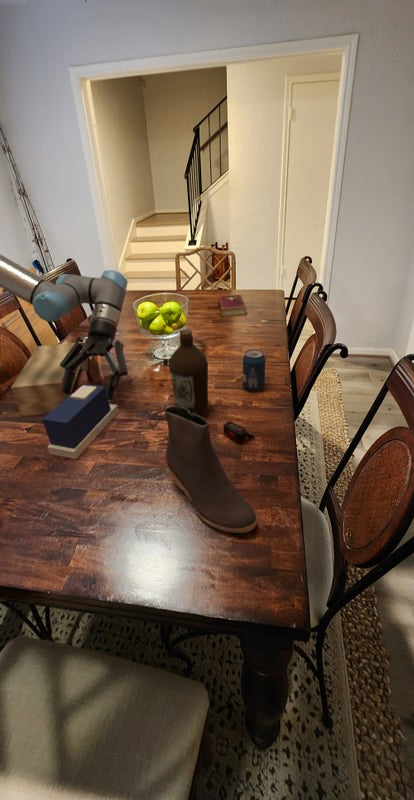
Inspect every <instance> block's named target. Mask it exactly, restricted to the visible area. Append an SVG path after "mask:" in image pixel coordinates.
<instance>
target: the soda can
mask: <svg viewBox="0 0 414 800" xmlns="http://www.w3.org/2000/svg"><path fill="white" fill-rule="evenodd" d="M265 379H266V357H265V354H264V352H263V351H262V350H260V349H248V350H246V351H244V355H243V357H242V386H243V387H244V388H245V390H246V391H248V392H254V393H255V392H259V391H261V390H262V389H263V388H264V386H265V384H266V381H265Z"/></svg>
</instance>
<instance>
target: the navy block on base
mask: <svg viewBox="0 0 414 800" xmlns="http://www.w3.org/2000/svg"><path fill="white" fill-rule="evenodd" d="M106 390H107V387H106V385H99V384H98V385H90V384H88V383H82V384H81V385H80V386H79V387H78V388H76V390H74V391H72V392H71V395H70V396H68V397H67V398H66V399H65V400H64V401H63V402H61V403H60V404H59V405H58V406H57V407H56V408H54V409H53V410H52V411H51V412H50V413H46V414H45V416H44V417H42V418H41V419H42V420H41V421H42V423H43V426H44V429H45V432H46V434H47V437H48V440H49V444H48V446H46V448H47V451H48V454H49V455H52V456H57V457H62V458H66V459H73V460H77V459H78V458H79V457H80V456H81V454H82V453H83V452H84V451H85V450H86V449H87V448H88V447H89V446H90V444H92V443H93V441H94V440H95V439H96V438H97V437H98V436H99V435H100V433H101V432H102V431H103V430H104V429H105V428H106V426H108V424H110V423H111V421H112V420H113V419H114V418H115V417H116V416H117V415H118V414H119V412H120V411H119V406H118V404H113V403H110V400H109V399H107V398H105V395H106Z"/></svg>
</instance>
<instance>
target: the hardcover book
mask: <svg viewBox="0 0 414 800" xmlns="http://www.w3.org/2000/svg"><path fill="white" fill-rule="evenodd" d="M218 305H219V310H220V314H221V317H239V316H240V317H241V316H247V312H246V309H247V306H246V303H245V301H244V297H243V295H242V294H232V295H231V294H227V295H218Z"/></svg>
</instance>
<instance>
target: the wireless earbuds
mask: <svg viewBox="0 0 414 800" xmlns="http://www.w3.org/2000/svg"><path fill="white" fill-rule="evenodd" d="M223 435H224V436H225V437H227V438H229V439H231V440H232V441H234V442H235V443H237V444H239V445H242V444H243V443H245V442H246V441H247V439H248V440H251V439H254V438H255V435H253V434H252V433H251V432H250V431H248V430H247V429H246V428H244V427H243V426H240V425H239V424H237V423H236V422H233V421H227V422H225V423H224V424H223Z"/></svg>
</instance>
